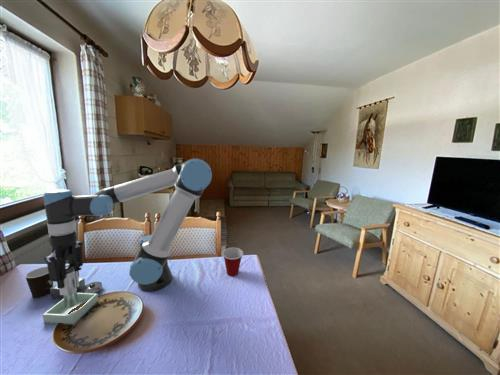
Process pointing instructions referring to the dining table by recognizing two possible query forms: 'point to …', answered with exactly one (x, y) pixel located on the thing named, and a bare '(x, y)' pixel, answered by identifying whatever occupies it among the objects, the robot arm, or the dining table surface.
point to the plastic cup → (232, 260)
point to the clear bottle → (70, 287)
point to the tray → (61, 313)
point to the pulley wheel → (92, 288)
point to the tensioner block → (56, 292)
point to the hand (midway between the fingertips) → (70, 290)
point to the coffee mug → (39, 282)
